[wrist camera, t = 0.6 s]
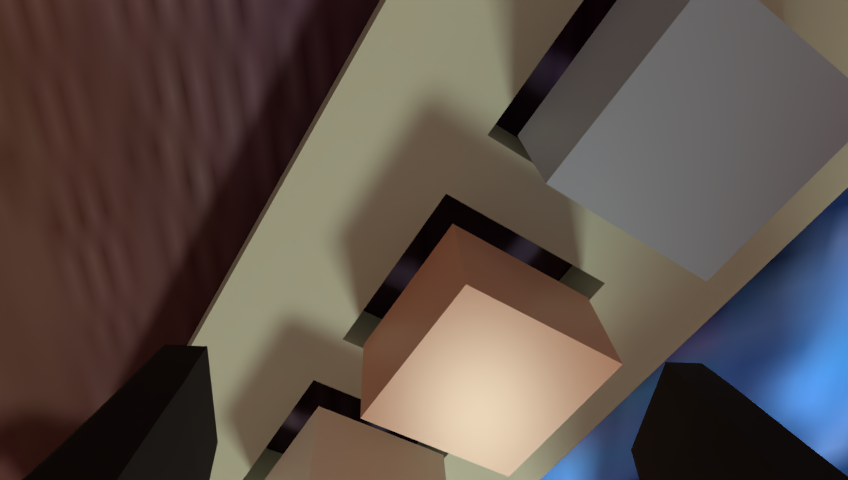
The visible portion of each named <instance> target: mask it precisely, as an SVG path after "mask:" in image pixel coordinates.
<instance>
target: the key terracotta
mask: <svg viewBox="0 0 848 480" xmlns="http://www.w3.org/2000/svg"><path fill="white" fill-rule="evenodd" d="M622 365H623V364H622V362H621V360H620V358H619V356H618V354H617V352H616V350H615V348H614V346H613V345H612V343H611V341H610V339H609V337H608V335H607V333H606V331H605V329H604V327H603V326H602V324H601V322H600V320H599V318H598V316H597V314H596V312H595V310H594V308H593V307H592V305H591V303H590V301H589V299H588V297H586V296H584V295H582V294H581V293H579V292H577V291H575V290H573V289H571V288H570V287H568V286H566V285H564V284H562V283H560V282H559V281H557V280H555V279H553V278H551V277H549V276H548V275H546V274H544V273H542V272H540V271H538V270H537V269H535V268H533V267H531V266H529V265H528V264H526V263H524V262H522V261H520V260H518V259H517V258H515V257H513V256H511V255H509V254H507V253H506V252H504V251H502V250H500V249H498V248H496V247H495V246H493V245H491V244H489V243H487V242H485V241H484V240H482V239H480V238H478V237H476V236H474V235H473V234H471V233H469V232H467V231H465V230H463V229H462V228H460V227H458V226H456V225H454V224H452V225H451V227H450V228H449V229H448V231H447V232H446V233H445V235H444V236H443V238H442V239H441V240H440V242H439V243H438V244H437V246H436V247H435V248H434V250H433V251H432V252H431V254H430V255H429V257H428V258H427V259H426V261H425V262H424V263H423V265H422V266H421V267H420V269H419V270H418V272H417V273H416V274H415V276H414V277H413V278H412V280H411V281H410V282H409V284H408V285H407V286H406V288H405V289H404V291H403V292H402V293H401V295H400V296H399V297H398V299H397V300H396V301H395V303H394V304H393V306H392V307H391V308H390V310H389V311H388V312H387V314H386V315H385V316H384V318H383V319H382V321H381V322H380V323H379V325H378V326H377V327H376V329H375V330H374V331H373V333H372V334H371V335H370V337H369V338H368V340H367V341H366V342H365V344H364V345H363V367H362V390H361V413H360V418H361V419H363V420H366V421H368V422H371V423H373V424H376V425H378V426H381V427H383V428H386V429H389V430H391V431H394V432H396V433H399V434H401V435H404V436H406V437H409V438H411V439H414V440H416V441H419V442H422V443H424V444H427V445H429V446H432V447H434V448H437V449H439V450H442V451H444V452H447V453H449V454H452V455H455V456H457V457H460V458H462V459H465V460H467V461H470V462H472V463H475V464H477V465H480V466H482V467H485V468H487V469H490V470H493V471H495V472H498V473H500V474H503V475H505V476H508V477H509V476H510V475H511V474H512V473H513V472H514V471H515V470H516V469H517V468H518V467H519V466H520V465H521V464H522V463H523V462H524V461H525V460H526V459H527V458H528V457H529V456H531V455H532V454H533V453H534V452H535V451H536V450H537V449H538V448H539V447H540V446H541V445H542V444H543V443H544V442H545V441H546V440H547V439H548V438H549V437H550V436H551V435H552V434H553V433H554V432H555V431H556V430H557V429H558V428H559V427H560V426H561V425H562V424H563V423H564V422H565V421H566V420H567V419H568V418H569V417H570V416H571V415H572V414H573V413H574V412H575V411H576V410H577V409H578V408H579V407H580V406H581V405H582V404H583V403H584V402H585V401H586V400H587V399H588V398H589V397H590V396H591V395H592V394H593V393H594V392H595V391H596V390H597V389H598V388H599V387H600V386H601V385H602V384H603V383H604V382H605V381H606V380H607V379H609V378H610V377H611V376H612V375H613V374H614V373H615V372H616V371H617V370H618V369H619V368H620V367H621V366H622Z"/></svg>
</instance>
